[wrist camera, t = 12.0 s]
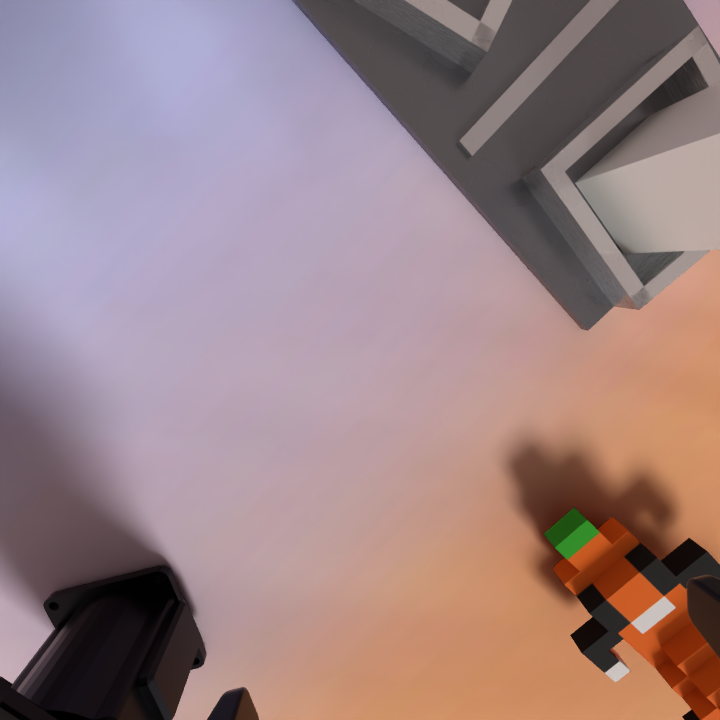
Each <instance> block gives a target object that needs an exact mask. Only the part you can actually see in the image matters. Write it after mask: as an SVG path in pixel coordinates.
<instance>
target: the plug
mask: <svg viewBox="0 0 720 720" xmlns="http://www.w3.org/2000/svg"><path fill="white" fill-rule="evenodd" d="M575 184H576V185H577V187H578V188H579V189H580V191H581V192H582V194H583V195H584V197H585V198H586V200H587V201H588V203H589V204H590V205H591V207H592V208H593V210H594V211H595V213H596V214H597V216H598V217H599V218H600V220H601V221H602V223H603V224H604V226H605V227H606V229H607V230H608V231H609V233H610V234H611V236H612V237H613V239H614V240H615V242H616V243H617V244H618V246H619V247H620V249H621V250H622V252H623V253H624V254H627V253H650V252H674V251H697V250H720V82H719V83H717V84H714V85H712V86H710V87H708V88H706V89H704V90H702V91H700V92H698V93H696V94H693V95H691V96H689V97H687V98H685V99H683V100H681V101H679V102H677V103H675V104H672V105H670V106H668V107H666V108H664V109H662V110H660V111H658V112H656V113H654V114H651V115H650V116H649V117H648V118H647V119H645V120H644V121H643V122H642V123H641V124H640V125H639V126H638V127H637V128H635V129H634V130H633V131H632V132H631V133H630V134H629V135H628V136H627V137H625V138H624V139H623V140H622V141H621V142H620V143H619V144H618V145H617V146H615V147H614V148H613V149H612V150H611V151H610V152H609V153H608V154H607V155H605V156H604V157H603V158H602V159H601V160H600V161H599V162H598V163H597V164H595V165H594V166H593V167H592V168H591V169H590V170H589V171H588V172H587V173H586V174H584V175H583V176H582V177H581V178H580V179H579V180H578V181H577V182H576V183H575Z"/></svg>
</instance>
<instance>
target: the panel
mask: <svg viewBox="0 0 720 720" xmlns="http://www.w3.org/2000/svg"><path fill="white" fill-rule="evenodd" d="M292 1H293V2H294V3H295V4H296V5H297V6H298V7H299V8H300V10H301V11H302V12H303V13H304V14H305V15H306V16H307V18H308V19H309V20H310V21H311V22H312V23H313V24H314V26H315V27H316V28H317V29H318V30H319V31H320V32H321V33H322V35H323V36H324V37H325V38H326V39H327V40H328V41H329V43H330V44H331V45H332V46H333V47H334V48H335V49H336V51H337V52H338V53H339V54H340V55H341V56H342V57H343V58H344V60H345V61H346V62H347V63H348V64H349V65H350V66H351V68H352V69H353V70H354V71H355V72H356V73H357V74H358V76H359V77H360V78H361V79H362V80H363V81H364V82H365V83H366V85H367V86H368V87H369V88H370V89H371V90H372V91H373V93H374V94H375V95H376V96H377V97H378V98H379V99H380V101H381V102H382V103H383V104H384V105H385V106H386V107H387V108H388V110H389V111H390V112H391V113H392V114H393V115H394V116H395V118H396V119H397V120H398V121H399V122H400V123H401V124H402V126H403V127H404V128H405V129H406V130H407V131H408V132H409V133H410V135H411V136H412V137H413V138H414V139H415V140H416V141H417V143H418V144H419V145H420V146H421V147H422V148H423V149H424V151H425V152H426V153H427V154H428V155H429V156H430V157H431V158H432V160H433V161H434V162H435V163H436V164H437V165H438V166H439V168H440V169H441V170H442V171H443V172H444V173H445V174H446V176H447V177H448V178H449V179H450V180H451V181H452V182H453V183H454V185H455V186H456V187H457V188H458V189H459V190H460V191H461V193H462V194H463V195H464V196H465V197H466V198H467V199H468V201H469V202H470V203H471V204H472V205H473V206H474V207H475V208H476V210H477V211H478V212H479V213H480V214H481V215H482V216H483V218H484V219H485V220H486V221H487V222H488V223H489V224H490V226H491V227H492V228H493V229H494V230H495V231H496V232H497V233H498V235H499V236H500V237H501V238H502V239H503V240H504V241H505V243H506V244H507V245H508V246H509V247H510V248H511V249H512V251H513V252H514V253H515V254H516V255H517V256H518V257H519V258H520V260H521V261H522V262H523V263H524V264H525V265H526V266H527V268H528V269H529V270H530V271H531V272H532V273H533V274H534V276H535V277H536V278H537V279H538V280H539V281H540V282H541V283H542V285H543V286H544V287H545V288H546V289H547V290H548V291H549V293H550V294H551V295H552V296H553V297H554V298H555V299H556V301H557V302H558V303H559V304H560V305H561V306H562V307H563V308H564V310H565V311H566V312H567V313H568V314H569V315H570V316H571V318H572V319H573V320H574V321H575V322H576V323H577V324H578V326H579V327H580V328H581V329H584V330H589V329H590V328H591V327H592V326H593V325H595V324H596V323H597V322H598V321H599V320H600V319H601V318H602V317H603V316H604V315H605V314H606V313H607V312H608V311H609V310H610V309H612V308H613V307H614V306H613V305H612V304H611V302H610V301H609V299H608V298H607V297H606V295H605V294H604V293H603V291H602V290H601V288H600V287H599V286H598V284H597V283H596V281H595V280H594V279H593V277H592V276H591V275H590V273H589V272H588V270H587V269H586V268H585V266H584V265H583V263H582V262H581V261H580V259H579V258H578V257H577V255H576V254H575V252H574V251H573V250H572V248H571V247H570V245H569V244H568V243H567V241H566V240H565V239H564V237H563V236H562V234H561V233H560V232H559V230H558V229H557V228H556V226H555V225H554V223H553V222H552V221H551V219H550V218H549V216H548V215H547V214H546V212H545V211H544V210H543V208H542V207H541V205H540V204H539V203H538V201H537V200H536V198H535V197H534V196H533V194H532V193H531V192H530V190H529V189H528V187H527V186H526V185H525V183H524V182H523V180H522V178H523V177H524V176H525V175H526V174H527V173H528V172H529V171H530V170H531V169H532V168H534V167H535V166H536V165H537V164H538V163H539V162H540V161H541V160H542V159H543V158H544V157H546V156H547V155H548V154H549V153H550V152H551V151H552V150H553V149H554V148H555V147H556V146H558V145H559V144H560V143H561V142H562V141H563V140H564V139H565V138H566V137H567V136H568V135H570V134H571V133H572V132H573V131H574V130H575V129H576V128H577V127H578V126H579V125H580V124H582V123H583V122H584V121H585V120H586V119H587V118H588V117H589V116H590V115H591V114H592V113H594V112H595V111H596V110H597V109H598V108H599V107H600V106H601V105H602V104H603V103H604V102H606V101H607V100H608V99H609V98H610V97H611V96H612V95H613V94H614V93H615V92H616V91H618V90H619V89H620V88H621V87H622V86H623V85H624V84H625V83H626V82H627V81H628V80H630V79H631V78H632V77H633V76H634V75H635V74H636V73H637V72H638V71H639V70H640V69H642V68H643V67H644V66H645V65H646V64H647V63H648V62H649V61H650V60H651V59H652V58H654V57H655V56H656V55H657V54H658V53H659V52H660V51H661V50H662V49H663V48H665V47H667V46H668V45H670V44H671V43H673V42H674V41H676V40H677V39H679V38H680V37H682V36H683V35H685V34H686V33H688V32H689V31H691V30H692V29H694V28H695V27H697V26H698V25H699V24H698V23H697V21H696V20H695V18H694V16H693V15H692V13H691V12H690V10H689V9H688V7H687V5H686V4H685V2H684V1H683V0H512V2H511V4H510V6H509V8H508V10H507V12H506V14H505V16H504V18H503V20H502V23H501V25H500V27H499V29H498V31H497V33H496V35H495V37H494V39H493V41H492V43H491V45H490V48H489V50H488V52H487V53H486V55H485V56H484V57H483V59H482V60H481V62H480V63H479V64H478V66H477V67H476V69H475V70H474V71H473V73H471V72H469V71H468V70H466V69H464V68H463V67H461V66H459V65H458V64H456V63H455V62H453V61H451V60H450V59H448V58H446V57H445V56H443V55H442V54H440V53H438V52H437V51H435V50H433V49H432V48H430V47H429V46H427V45H425V44H424V43H422V42H420V41H419V40H417V39H416V38H414V37H412V36H411V35H409V34H407V33H406V32H404V31H402V30H401V29H399V28H398V27H396V26H394V25H393V24H391V23H389V22H388V21H386V20H385V19H383V18H381V17H380V16H378V15H376V14H375V13H373V12H372V11H370V10H368V9H367V8H365V7H363V6H362V5H360V4H359V3H357V2H355V1H354V0H292ZM447 1H449V2H451V3H452V4H454V5H455V6H457V7H458V8H460V9H461V10H463V11H465V12H466V13H468V14H469V15H471V16H472V17H474V18H475V19H477V20H478V18H479V16H480V14H481V12H482V10H483V8H484V6H485V4H486V1H487V0H447ZM699 27H700V26H699ZM700 29H701V27H700ZM701 31H702V29H701ZM702 33H703V35H704V36H705V38H706V40H707V42H708V44H709V46H710V47H711V49H712V51H713V53H714V55H715V57H716V58H717V60H718V62H719V64H720V57H719V56H718V54H717V52H716V51H715V49H714V48H713V46H712V45H711V43H710V41H709V40H708V38H707V37H706V35H705V34H704V32H703V31H702ZM672 104H674V103H673V101H672V100H671V98H670V96H669V95H668V93H667V91H666V89H665V88H664V86H663V84H661V85H660V86H659V87H658V88H656V89H655V90H654V91H653V92H652V93H651V94H650V95H649V96H648V97H647V98H645V99H644V100H643V101H642V102H641V103H640V104H639V105H638V106H637V107H635V108H634V109H633V110H632V111H631V112H630V113H629V114H628V115H627V116H626V117H624V118H623V119H622V120H621V121H620V122H619V123H618V124H617V125H616V126H615V127H613V128H612V129H611V130H610V131H609V132H608V133H607V134H606V135H605V136H603V137H602V138H601V139H600V140H599V141H598V142H597V143H596V144H595V145H594V146H592V147H591V148H590V149H589V150H588V151H587V152H586V153H585V154H584V155H582V156H581V157H580V158H579V159H578V160H577V161H576V162H575V163H574V164H573V165H571V166H570V167H569V168H568V169H567V170H566V171H565V173H566V174H567V176H568V177H569V178H570V180H571V181H572V183H573V184H574V186H575V187H576V189H577V190H578V191H579V193H580V194H581V196H582V197H583V199H584V200H585V202H586V203H587V205H588V206H589V207H590V209H591V210H592V212H593V213H594V215H595V216H596V218H597V219H598V220H599V222H600V223H601V225H602V226H603V228H604V229H605V231H606V232H607V233H608V235H609V236H610V238H611V239H612V241H613V242H614V244H615V245H616V247H617V248H618V249H619V251H620V252H621V254H622V255H623V257H624V258H625V260H626V261H627V262H628V264H629V265H630V267H631V268H632V270H633V271H634V270H635V269H637V268H638V267H639V266H640V265H641V264H643V263H644V262H645V261H646V260H647V259H648V258H650V257H651V256H652V255H653V254H654V253H655V252H650V253H627V254H624V253H623V252H622V250H621V249H620V247H619V246H618V244H617V243H616V242H615V240H614V239H613V237H612V236H611V234H610V233H609V231H608V230H607V229H606V227H605V226H604V224H603V223H602V221H601V220H600V218H599V217H598V216H597V214H596V213H595V211H594V210H593V208H592V207H591V205H590V204H589V203H588V201H587V200H586V198H585V197H584V195H583V194H582V192H581V191H580V189H579V188H578V187H577V185H576V184H575V183H576V182H577V181H578V180H579V179H580V178H581V177H582V176H583V175H584V174H586V173H587V172H588V171H589V170H590V169H591V168H592V167H593V166H594V165H595V164H597V163H598V162H599V161H600V160H601V159H602V158H603V157H604V156H605V155H607V154H608V153H609V152H610V151H611V150H612V149H613V148H614V147H615V146H617V145H618V144H619V143H620V142H621V141H622V140H623V139H624V138H625V137H627V136H628V135H629V134H630V133H631V132H632V131H633V130H634V129H635V128H637V127H638V126H639V125H640V124H641V123H642V122H643V121H644V120H645V119H647V118H648V117H649V116H650V115H651V114H654V113H656V112H658V111H660V110H662V109H664V108H666V107H668V106H670V105H672Z"/></svg>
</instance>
